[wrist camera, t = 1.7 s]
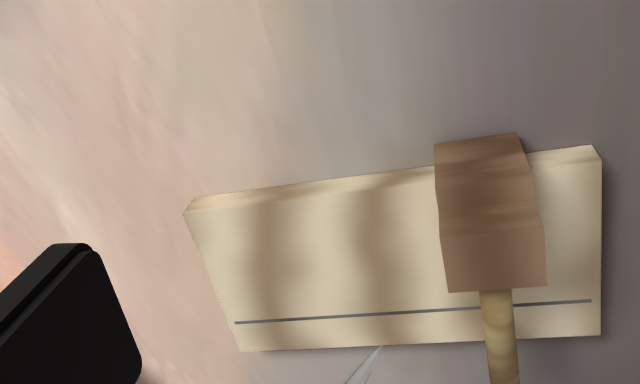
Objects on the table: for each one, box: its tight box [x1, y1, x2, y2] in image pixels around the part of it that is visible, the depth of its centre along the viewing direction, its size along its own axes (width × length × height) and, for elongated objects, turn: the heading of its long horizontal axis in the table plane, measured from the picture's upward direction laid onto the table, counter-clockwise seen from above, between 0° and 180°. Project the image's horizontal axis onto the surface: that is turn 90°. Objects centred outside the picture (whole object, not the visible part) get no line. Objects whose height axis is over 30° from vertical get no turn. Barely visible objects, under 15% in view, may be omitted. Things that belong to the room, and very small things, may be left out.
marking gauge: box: [434, 132, 547, 384], centre depth 29 cm, size 4×13×8 cm, turn 14°
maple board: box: [183, 145, 602, 352], centre depth 34 cm, size 24×12×2 cm, turn 104°
